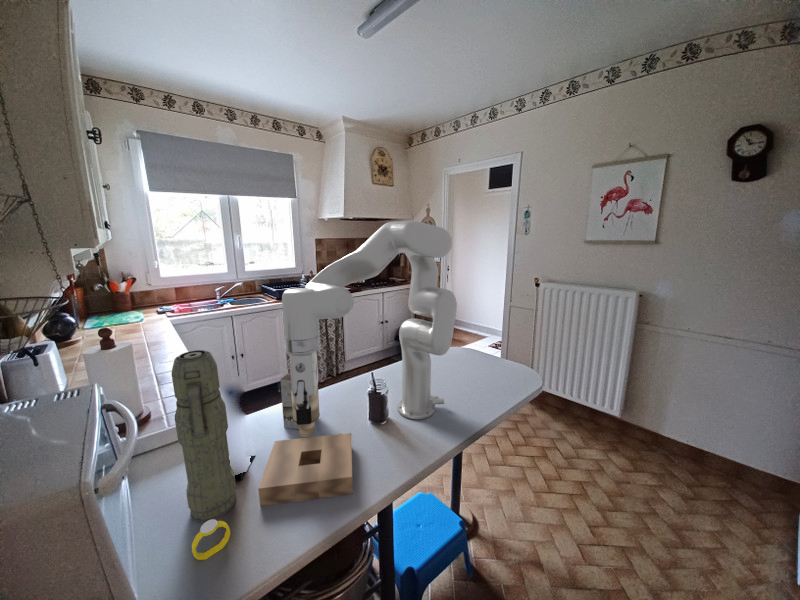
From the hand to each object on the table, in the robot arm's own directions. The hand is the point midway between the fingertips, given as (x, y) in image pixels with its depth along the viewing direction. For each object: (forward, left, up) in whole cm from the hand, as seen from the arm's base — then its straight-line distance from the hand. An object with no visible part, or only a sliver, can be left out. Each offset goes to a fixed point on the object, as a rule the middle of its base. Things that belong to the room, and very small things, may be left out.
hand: (306, 414), depth 73 cm
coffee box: (+6, -24, -16) cm, 30 cm away
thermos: (+20, +6, -16) cm, 26 cm away
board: (0, 0, -16) cm, 16 cm away
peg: (0, 0, -5) cm, 5 cm away
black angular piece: (+18, -5, -17) cm, 25 cm away
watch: (+16, +17, -16) cm, 28 cm away
